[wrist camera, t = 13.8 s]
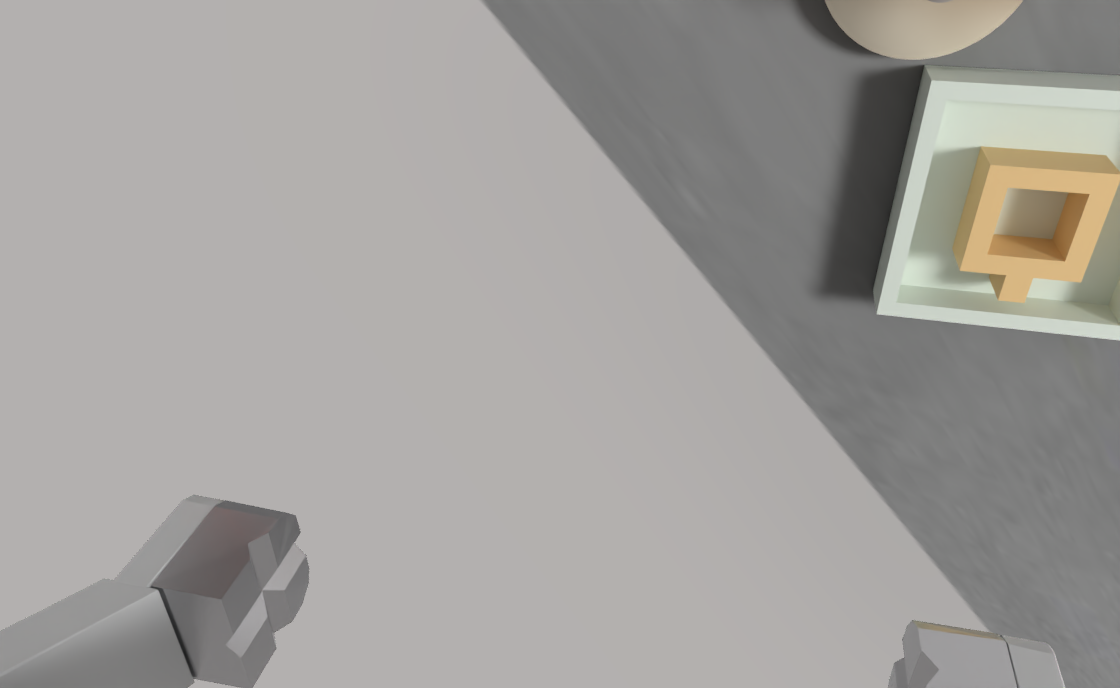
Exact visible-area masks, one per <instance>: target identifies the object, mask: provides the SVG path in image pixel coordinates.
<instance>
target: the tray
mask: <svg viewBox="0 0 1120 688" xmlns="http://www.w3.org/2000/svg"><path fill="white" fill-rule="evenodd" d="M981 146H984V147H998V148H1012V149H1026V150H1040V151H1054V152H1068V153H1082V154H1097V155H1106V156H1107V157H1108V158H1109V159H1110V161H1111V162H1112V163H1113V164H1114V165H1115V166H1116V168H1117V169H1118V170H1119V171H1120V75H1102V74H1083V73H1065V72H1046V71H1028V70H1009V69H990V68H972V67H953V66H935V65H924V69H923V73H922V77H921V82H920V86H919V91H918V95H917V99H916V104H915V108H914V112H913V117H912V121H911V126H910V130H909V134H908V139H907V143H906V147H905V152H904V156H903V160H902V165H901V169H900V174H899V178H898V182H897V187H896V191H895V195H894V200H893V204H892V209H891V213H890V217H889V222H888V226H887V230H886V235H885V239H884V243H883V248H882V252H881V257H880V261H879V265H878V270H877V274H876V278H875V283H874V287H873V295H874V302H875V308H876V314H880V315H889V316H898V317H908V318H917V319H926V320H936V321H945V322H954V323H963V324H973V325H982V326H991V327H1001V328H1010V329H1019V330H1029V331H1038V332H1047V333H1057V334H1066V335H1075V336H1084V337H1094V338H1103V339H1112V340H1120V183H1119V185H1118V188H1117V190H1116V193H1115V196H1114V198H1113V201H1112V203H1111V206H1110V209H1109V211H1108V214H1107V216H1106V219H1105V222H1104V224H1103V227H1102V229H1101V232H1100V235H1099V237H1098V240H1097V242H1096V245H1095V248H1094V250H1093V253H1092V256H1091V258H1090V261H1089V263H1088V266H1087V269H1086V271H1085V274H1084V276H1083V279H1082V282H1081V283H1080V282H1070V281H1060V280H1049V279H1039V278H1033V280H1032V283H1031V286H1030V289H1029V291H1028V294H1027V297H1026V300H1025V303H1018V302H1008V301H999V300H998V299H997V297H996V294H995V292H994V289H993V287H992V284H991V282H990V279H989V275H990V274H988V273H977V272H967V271H960V270H959V267H958V264H957V261H956V259H955V256H954V253H953V250H952V247H953V244H954V240H955V237H956V233H957V229H958V226H959V222H960V219H961V215H962V212H963V208H964V204H965V201H966V197H967V194H968V190H969V187H970V183H971V179H972V176H973V172H974V169H975V165H976V162H977V158H978V155H979V151H980V147H981ZM1068 193H1069V192H1057V191H1044V190H1032V189H1019V188H1008V189H1007V192H1006V196H1005V199H1004V202H1003V205H1002V209H1001V212H1000V215H999V218H998V222H997V225H996V228H995V231H994V234H999V235H1010V236H1022V237H1033V238H1044V239H1052V238H1053V236H1054V233H1055V230H1056V227H1057V224H1058V221H1059V219H1060V216H1061V213H1062V210H1063V207H1064V204H1065V201H1066V199H1067V196H1068Z"/></svg>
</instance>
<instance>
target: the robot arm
mask: <svg viewBox="0 0 1120 688" xmlns="http://www.w3.org/2000/svg"><path fill="white" fill-rule="evenodd" d="M299 534H300V529H299V525H298V522H297V519H296V516H295V515H292V514H289V513H285V512H280V511H275V510H270V509H265V508H260V507H255V506H250V505H245V504H240V503H235V502H231V501H226V500H225V501H224V500H219V499H214V498H208V497H203V496H198V495H192V496H190V497H189V498H186V499H185V500H183V501H182V502H181V503H180V504H179V505H178V506H177V507H176V508H175V509H174V511H173V512H172V513H171V514H170V515H169V516H168V518H167V519H166V520H165V521H164V522H163V523H162V525H161V526H160V527H159V528H158V529H157V530H156V532H155V533H154V534H153V535H152V536H151V537H150V539H149V540H148V541H147V542H146V543H145V544H144V545H143V547H142V548H141V549H140V550H139V551H138V553H137V554H136V555H135V556H134V557H133V558H132V559H131V561H130V562H129V563H128V564H127V565H126V566H125V568H124V569H123V570H122V571H121V572H120V573H119V575H118V576H117V577H116V578H115V579H114V580H109V579H102V580H100V581H98V582H97V583H95V584H93V585H91V586H89V587H87V588H85V589H83V590H81V591H79V592H77V593H75V594H73V595H71V596H69V597H67V598H65V599H63V600H61V601H59V602H57V603H55V604H53V605H51V606H49V607H47V608H45V609H43V610H41V611H39V612H37V613H35V614H33V615H31V616H29V617H27V618H25V619H24V620H21V621H19V622H17V623H15V624H13V625H12V626H10V627H8V628H5V629H3V630H1V631H0V688H188V687H189V686H190V685H192V684H193V683H194V679H198V680H204V681H209V682H214V683H220V684H225V685H231V686H236V687H241V688H253V686H254V684H255V683H256V681H257V680H258V678H259V676H260V675H261V673H262V671H263V669H264V668H265V666H266V664H267V663H268V661H269V660H270V658H271V656H272V655H273V653H274V651H275V650H276V643H275V636H274V632H276V631H278V630H279V629H281V628H283V627H284V626H286V625H287V624H289V623H291V622H292V621H293V619H294V618H295V616H296V614H297V612H298V611H299V609H300V607H301V605H302V603H303V600H304V596H305V593H306V590H307V587H308V583H309V566H308V562H307V557H306V554H304V552H303V551H302V550H301V549H300V548H299V547H298V546H297V545H296V544H295V543H294V542H295V541H296V539H297V537H298V536H299ZM902 641H903V649H904V658H902V659H901V660H899V661H897V662H895V663H894V666H893V669H892V673H891V676H890V679H889V685H888V688H1065V685H1064V682H1063V679H1062V676H1061V672H1060V669H1059V666H1058V663H1057V659H1056V656H1055V653H1054V651H1053V649H1052V648H1051V647H1050V646H1049V645H1048V643H1045V642H1039V641H1033V640H1027V639H1021V638H1015V637H1010V636H1004V635H1000V636H999V635H998V634H996V633H989V632H983V631H977V630H970V629H964V628H958V627H952V626H945V625H940V624H933V623H927V622H920V621H914V620H912V621H911V622H910V624H909V625H908V626H907V628H906V631H905V634H904V637H903V639H902Z"/></svg>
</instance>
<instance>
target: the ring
mask: <svg viewBox="0 0 1120 688" xmlns="http://www.w3.org/2000/svg"><path fill="white" fill-rule="evenodd" d="M1119 183H1120V171H1119V170H1118V169H1117V168H1116V166H1115V165H1114V164H1113V163H1112V162H1111V161H1110V159H1109V158H1108V157H1107V156H1106V155H1097V154H1082V153H1068V152H1054V151H1040V150H1026V149H1012V148H998V147H984V146H981V147H980V151H979V155H978V158H977V162H976V165H975V169H974V172H973V176H972V179H971V183H970V187H969V190H968V194H967V197H966V201H965V204H964V208H963V212H962V215H961V219H960V222H959V226H958V229H957V233H956V237H955V240H954V244H953V247H952V250H953V253H954V256H955V259H956V261H957V264H958V267H959V270H960V271H967V272H977V273H988V274H990V275H989V279H990V282H991V284H992V287H993V289H994V292H995V294H996V297H997V299H998V300H999V301H1008V302H1018V303H1025V300H1026V297H1027V294H1028V291H1029V289H1030V286H1031V283H1032V280H1033V278H1039V279H1049V280H1060V281H1070V282H1080V283H1081V282H1082V279H1083V276H1084V274H1085V271H1086V269H1087V266H1088V263H1089V261H1090V258H1091V256H1092V253H1093V250H1094V248H1095V245H1096V242H1097V240H1098V237H1099V235H1100V232H1101V229H1102V227H1103V224H1104V222H1105V219H1106V216H1107V214H1108V211H1109V209H1110V206H1111V203H1112V201H1113V198H1114V196H1115V193H1116V190H1117V188H1118V185H1119ZM1008 188H1019V189H1032V190H1044V191H1057V192H1069V193H1068V196H1067V199H1066V201H1065V204H1064V207H1063V210H1062V213H1061V216H1060V219H1059V221H1058V224H1057V227H1056V230H1055V233H1054V236H1053V238H1052V239H1044V238H1033V237H1022V236H1010V235H999V234H994V231H995V228H996V225H997V222H998V218H999V215H1000V212H1001V209H1002V205H1003V202H1004V199H1005V196H1006V192H1007V189H1008Z"/></svg>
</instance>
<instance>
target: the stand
mask: <svg viewBox="0 0 1120 688" xmlns="http://www.w3.org/2000/svg"><path fill="white" fill-rule="evenodd" d="M1022 1H1023V0H825V2H826V5H827V7H828V9H829V11H830V13H831V15H832V17H833V18H834V19H835V21H836V22H837V24H838V25H839V27H840V28H841V29H842V30H843V31H844V32H845V33H846V34H847V35H848V36H849V37H850V38H852V39H853V40H854V41H855V42H856V43H858V44H860V45H861V46H863V47H865V48H866V49H868V50H870V51H873V52H875V53H878V54H880V55H884V56H887V57H891V58H898V59H906V60H917V59H928V58H935V57H939V56H943V55H947V54H950V53H953V52H956V51H958V50H961V49H964V48H966V47H968V46H969V45H971V44H973V43H975V42H977V41H979V40H980V39H982V38H983V37H985V36H987V35H988V34H990V33H991V32H992V31H993V30H995V29H996V28H997V27H998V26H1000V25H1001V24H1002V23H1003V22H1004V21H1005V20H1006V19H1007V18H1008V17H1009V16H1010V15H1011V14H1012V13H1013V12H1014V11H1015V10H1016V9H1017V7H1018V6H1019V5H1020V4H1021V2H1022Z"/></svg>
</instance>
